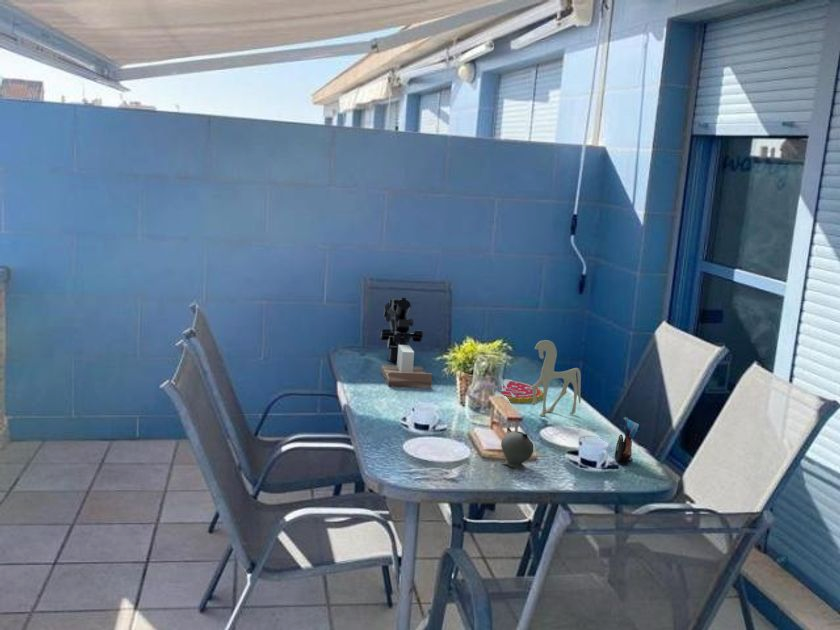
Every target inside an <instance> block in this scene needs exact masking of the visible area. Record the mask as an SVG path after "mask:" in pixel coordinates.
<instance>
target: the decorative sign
mask: <svg viewBox="0 0 840 630" xmlns="http://www.w3.org/2000/svg"><path fill="white" fill-rule="evenodd" d="M502 380H503V387H502V390H501V394H502V395H504V396H506V397H507V398H508V399H509V401H510V402H512V404H513V403H516V404H522V403H523V404H528V403H533V391H532V386H533V385H531V384H529V383H524V382H523V381H515V380H513V379H506V378H505V379H502ZM536 398H537V402H539V401H540V400H539V399H541V400H543V390H542V389H540V387H537V388H536Z"/></svg>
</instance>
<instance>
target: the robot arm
mask: <svg viewBox="0 0 840 630" xmlns="http://www.w3.org/2000/svg"><path fill="white" fill-rule="evenodd" d="M411 306H412V305H411V302H410V301H409V300H408V299H407V298H406V297H401V298H389V300H388V302H387V303H386V304H385V305H384V308H383V318H384V321H386V323H387V322H388V323H389V327H390V328H382V329H381V331H380V340H381V341H386V343H387V344H386V348H387V349H389V351H390V352H389V358H386V360H387V361H388V362H390V361H391V362H390V363H393V364H394V363H396V364H397V356H398V345H409V343H410V340H411V339H412V341H413V342H416V343H417V342H418V343H419V342H422V341H423V337H424V332H423V330H422V329H421V330H420V329H418V330H417V329H414V330H413V332H409V331H410V327H413V326H414V318H409V319H408V315H409V312H410V309H411Z"/></svg>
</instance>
